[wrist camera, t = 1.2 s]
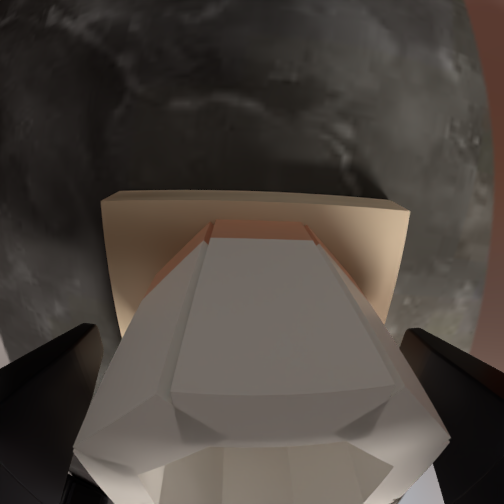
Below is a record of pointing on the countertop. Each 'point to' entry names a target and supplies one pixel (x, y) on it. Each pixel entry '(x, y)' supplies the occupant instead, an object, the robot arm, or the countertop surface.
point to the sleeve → (258, 383)
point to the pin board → (248, 208)
